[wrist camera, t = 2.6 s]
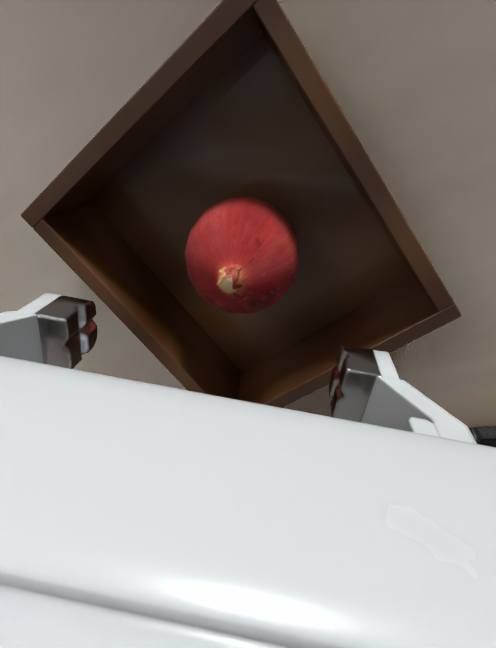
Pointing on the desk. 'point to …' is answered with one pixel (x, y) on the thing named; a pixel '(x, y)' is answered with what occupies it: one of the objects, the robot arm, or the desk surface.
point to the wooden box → (233, 182)
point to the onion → (242, 255)
